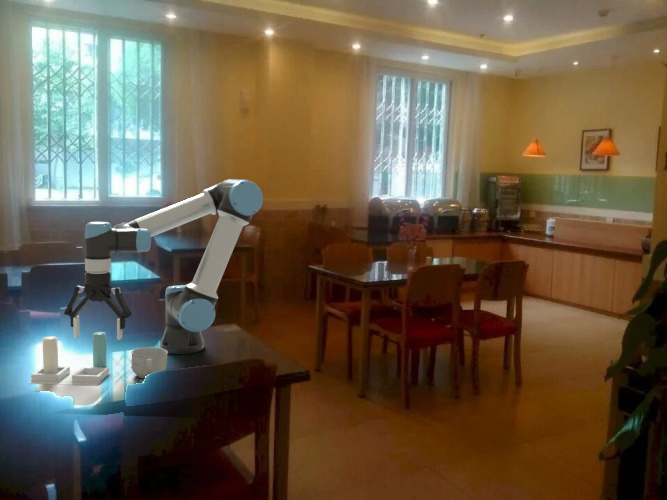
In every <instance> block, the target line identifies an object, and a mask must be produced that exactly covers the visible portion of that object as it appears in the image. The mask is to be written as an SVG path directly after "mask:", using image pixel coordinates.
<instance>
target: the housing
mask: <svg viewBox="0 0 667 500" xmlns="http://www.w3.org/2000/svg"><path fill="white" fill-rule="evenodd" d="M111 373H112V371H110V368H109V367H106V368H101V367H93V366H82V367H81V368H80V369H79V370H71V367H70V366H64V365H63V366H62V365H58V373H57V374H44V369H43V366H42V367H40V368H39V369H37V370H36V371H35V370H34V372H33V373H31V374H30V377H31V378H30V379H31V381H29V382H28V384H32V385H33V384H35V385H37V384H38V385H63V386H64V385H68V386H70V385H71V386H95V387H96V386H98V385H99V384H100V383H101V382H102V381H103V380H104V379H106V378H107V376H109V375H110V374H111Z"/></svg>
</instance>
